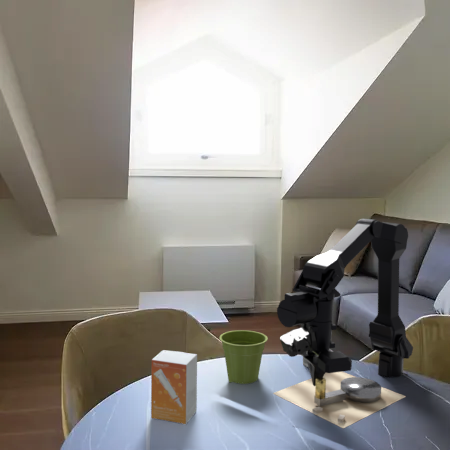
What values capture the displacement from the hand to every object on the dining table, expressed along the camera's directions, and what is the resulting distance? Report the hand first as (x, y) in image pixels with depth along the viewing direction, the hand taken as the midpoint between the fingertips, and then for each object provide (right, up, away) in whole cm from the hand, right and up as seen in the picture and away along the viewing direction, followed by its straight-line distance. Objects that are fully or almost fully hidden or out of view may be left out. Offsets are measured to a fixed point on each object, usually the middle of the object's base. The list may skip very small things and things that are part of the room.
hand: (315, 385), depth 112 cm
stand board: (+6, -4, +4) cm, 8 cm away
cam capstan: (+7, -3, +1) cm, 8 cm away
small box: (-31, -5, -5) cm, 32 cm away
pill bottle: (+3, -2, +22) cm, 22 cm away
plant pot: (-16, -3, +13) cm, 21 cm away
